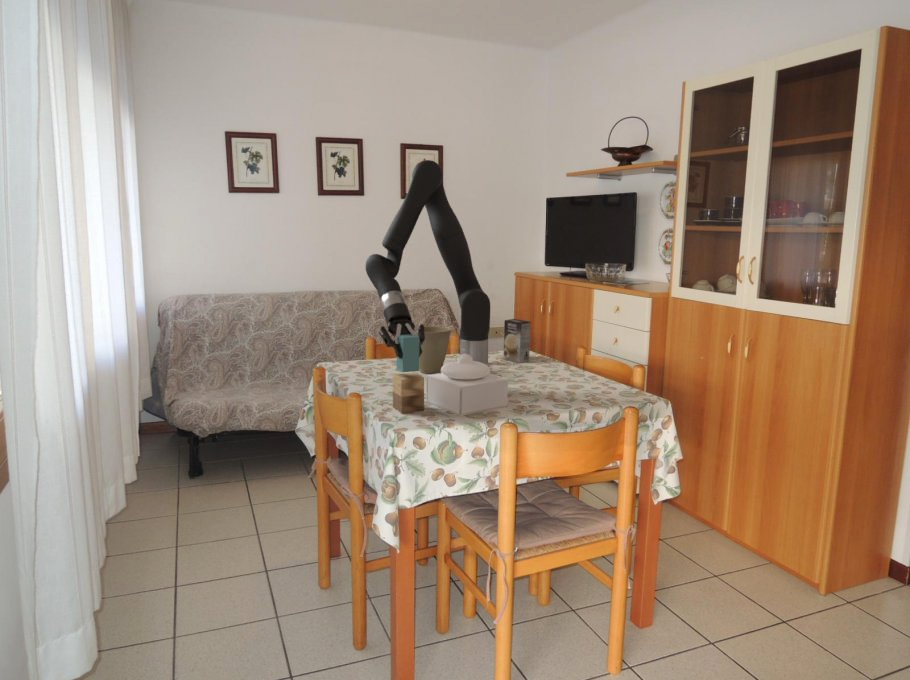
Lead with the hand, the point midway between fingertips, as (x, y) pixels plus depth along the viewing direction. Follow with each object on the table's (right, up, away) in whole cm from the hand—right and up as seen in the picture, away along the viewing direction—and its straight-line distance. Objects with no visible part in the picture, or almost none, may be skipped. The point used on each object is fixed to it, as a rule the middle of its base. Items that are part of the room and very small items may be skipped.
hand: (410, 356), depth 193 cm
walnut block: (-1, -16, +4) cm, 16 cm away
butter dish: (+16, -15, +10) cm, 24 cm away
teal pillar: (-1, -4, +2) cm, 5 cm away
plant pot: (+4, -7, +54) cm, 54 cm away
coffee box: (+37, -4, +76) cm, 85 cm away
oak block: (-1, -11, +4) cm, 11 cm away
